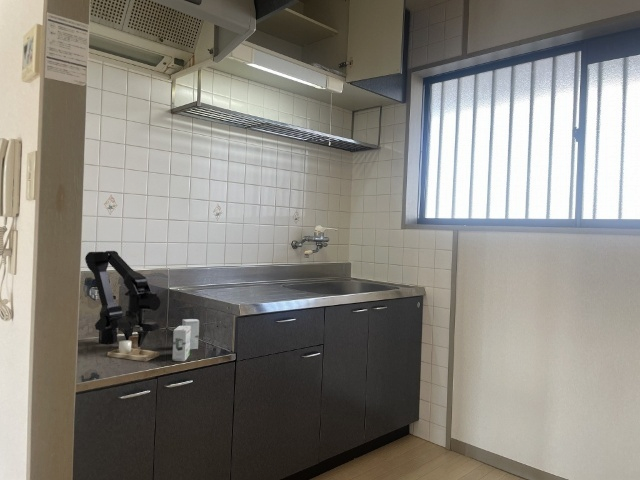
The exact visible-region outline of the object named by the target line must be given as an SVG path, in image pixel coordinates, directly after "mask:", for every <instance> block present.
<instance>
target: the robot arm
mask: <svg viewBox="0 0 640 480" xmlns="http://www.w3.org/2000/svg"><path fill="white" fill-rule="evenodd" d="M84 260H85V264H86V267H87V268H88V270H89V271H91V273H93V276H94V281H95V284H96V288H97V292H98V293H97V294H98V296H99V300H100V304H101V308H100V311H99V318H98V320H97V321H96V322H95V324H94V327H95V330H97V331H98V341H97V342H96V343H95V344H96V345H97V344H98V345H99V344H100V345H107V346H108V345H113V344H116V343H119V341H120V340H118V331H120V332H121V333H123V335H124V337H125V340H129V337H130V336H133V333H134V328H138V329H139V330H137V331H136V334H137V336H138V347H140V348H141V347H142V345H143V343H144V341H145V339H146V337H147V335H148V334H149V333H152V332H155V331H158V330H160V324H159V322H157V321H156V322H155V321H149V322H146V319H144V313H146V310H147V311H154V312H155V311H157V310H159V308H160V306H161V299H160V297H158V293H157V292H153V290H152V288H151V286H150V284H149V282H148V279H147V277H145V276H144V275H143V274H141V273H140V272H137V271H135V270H134V269H133V268H132V267H130V265H129V264H128V263H127V262H126V261H125V260H124V259H123V258H122V257H121V256H120V255H119V253H118V251H116V250H106V251H89V252H87V254H86V255H85V257H84ZM109 265H110V266H111V267H112V268H113V269H114V270H115V271H116V272H117V273H118V275H120V277H122V279H123V284H124V286H125V288H126V289H127V291H126V292H125V294H124V296H127V297H128V307H127V310H125V315H124V313H123V307H122V306H121V305H117V304H116V302H115V299H114V296H113V292H112V291H113V290H112V288H111V284H110V279H109V277H108V272H107V271H108V268H109Z"/></svg>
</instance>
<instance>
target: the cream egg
mask: <svg viewBox="0 0 640 480" xmlns="http://www.w3.org/2000/svg"><path fill="white" fill-rule="evenodd" d="M118 341H119V342H118V349H119V353H121V354H129V353H131V342H132V341H130V340H126V339H125V340H124V339H123V340H118Z"/></svg>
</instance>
